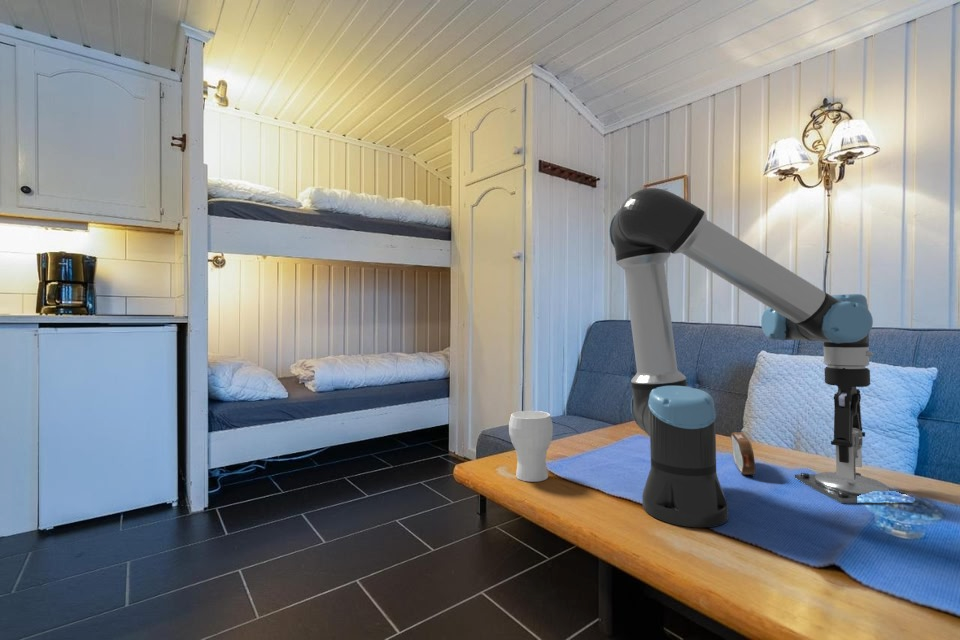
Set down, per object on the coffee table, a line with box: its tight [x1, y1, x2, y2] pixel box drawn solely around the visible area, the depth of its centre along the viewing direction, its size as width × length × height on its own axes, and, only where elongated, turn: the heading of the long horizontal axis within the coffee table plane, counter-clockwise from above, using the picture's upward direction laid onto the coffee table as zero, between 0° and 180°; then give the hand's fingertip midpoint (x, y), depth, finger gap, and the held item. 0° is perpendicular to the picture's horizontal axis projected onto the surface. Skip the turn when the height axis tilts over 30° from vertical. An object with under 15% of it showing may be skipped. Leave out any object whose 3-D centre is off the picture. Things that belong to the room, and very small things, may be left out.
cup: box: [508, 410, 554, 483], centre depth 108 cm, size 11×11×15 cm
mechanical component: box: [840, 428, 864, 479], centre depth 95 cm, size 3×10×10 cm, turn 129°
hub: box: [794, 471, 908, 504], centre depth 95 cm, size 14×14×2 cm
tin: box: [730, 431, 756, 476], centre depth 109 cm, size 15×3×8 cm, turn 159°
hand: (849, 471), depth 95 cm, fingers closed on mechanical component, 10 cm apart
